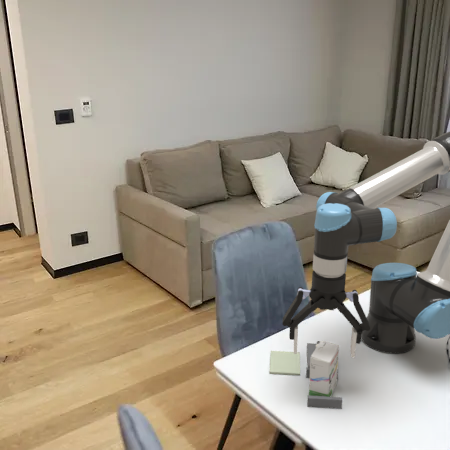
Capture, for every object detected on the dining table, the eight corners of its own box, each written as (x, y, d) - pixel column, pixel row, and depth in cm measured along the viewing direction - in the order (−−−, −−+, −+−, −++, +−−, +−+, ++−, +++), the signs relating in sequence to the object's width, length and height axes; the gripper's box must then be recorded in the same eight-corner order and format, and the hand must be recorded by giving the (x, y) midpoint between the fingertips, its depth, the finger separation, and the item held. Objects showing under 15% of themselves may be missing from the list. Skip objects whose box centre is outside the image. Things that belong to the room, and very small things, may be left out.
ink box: (327, 404, 123) (330, 362, 120) (307, 398, 126) (309, 357, 122) (337, 384, 131) (340, 344, 127) (318, 379, 133) (320, 339, 129)
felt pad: (299, 354, 144) (299, 352, 144) (300, 375, 134) (300, 373, 134) (270, 352, 145) (270, 350, 145) (269, 373, 135) (269, 371, 135)
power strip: (332, 344, 148) (333, 333, 147) (341, 409, 122) (342, 395, 121) (304, 343, 149) (304, 332, 148) (307, 406, 123) (308, 393, 122)
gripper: (382, 267, 120) (374, 347, 126) (274, 262, 122) (272, 340, 129) (388, 281, 113) (379, 364, 119) (273, 275, 115) (271, 357, 122)
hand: (323, 352), depth 124 cm, fingers open, 13 cm apart
